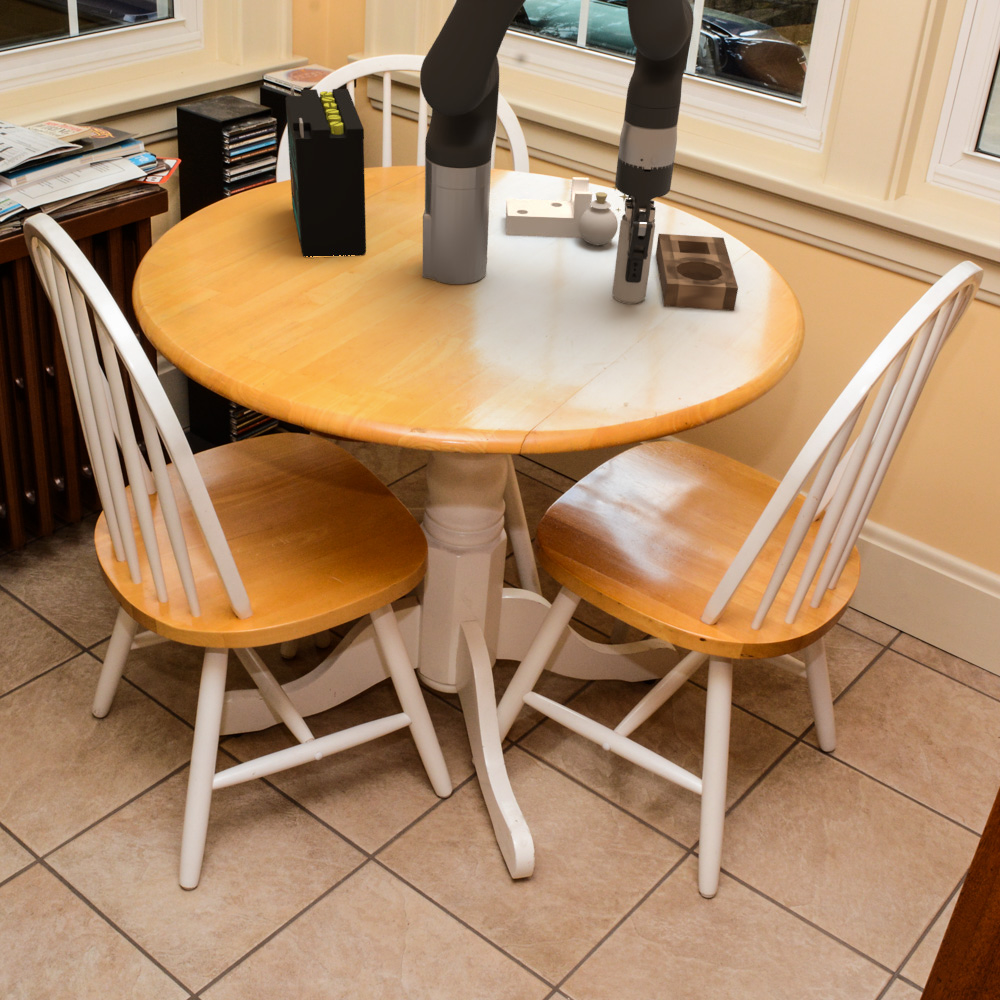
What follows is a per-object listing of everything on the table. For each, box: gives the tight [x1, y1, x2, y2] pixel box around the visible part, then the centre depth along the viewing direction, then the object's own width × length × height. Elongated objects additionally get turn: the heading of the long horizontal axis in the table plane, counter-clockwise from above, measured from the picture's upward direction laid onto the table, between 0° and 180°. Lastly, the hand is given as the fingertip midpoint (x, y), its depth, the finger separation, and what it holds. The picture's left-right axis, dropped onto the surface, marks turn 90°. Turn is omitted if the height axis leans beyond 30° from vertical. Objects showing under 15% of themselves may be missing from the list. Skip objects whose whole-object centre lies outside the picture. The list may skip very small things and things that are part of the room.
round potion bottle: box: [579, 185, 628, 246], centre depth 174 cm, size 6×7×10 cm
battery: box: [285, 84, 367, 258], centre depth 170 cm, size 19×10×20 cm, turn 13°
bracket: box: [505, 176, 593, 239], centre depth 179 cm, size 13×7×8 cm, turn 91°
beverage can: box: [611, 213, 656, 305], centre depth 158 cm, size 5×5×12 cm
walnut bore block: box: [655, 233, 739, 312], centre depth 166 cm, size 10×18×4 cm, turn 178°
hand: (631, 272), depth 159 cm, fingers closed on beverage can, 4 cm apart
